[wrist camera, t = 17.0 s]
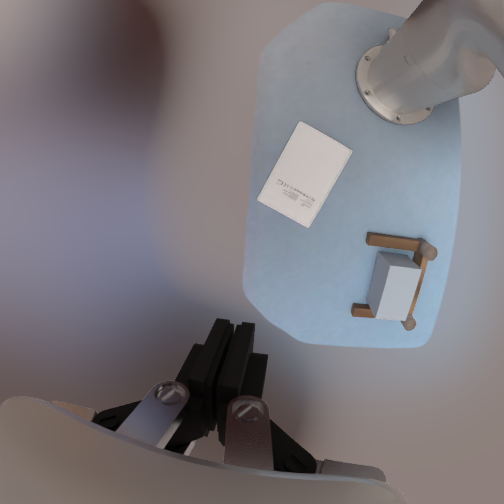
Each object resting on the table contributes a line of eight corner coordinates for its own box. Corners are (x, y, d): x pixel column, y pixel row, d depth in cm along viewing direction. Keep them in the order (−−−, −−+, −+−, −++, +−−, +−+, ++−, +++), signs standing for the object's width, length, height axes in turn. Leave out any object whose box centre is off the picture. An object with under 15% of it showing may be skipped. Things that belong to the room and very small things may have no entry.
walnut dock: (367, 230, 38) (376, 238, 34) (425, 238, 37) (438, 247, 33) (350, 312, 42) (355, 328, 38) (404, 316, 41) (413, 330, 37)
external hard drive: (350, 151, 36) (308, 226, 40) (299, 122, 35) (257, 198, 39) (353, 151, 34) (308, 229, 38) (299, 120, 34) (256, 200, 38)
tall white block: (377, 251, 39) (390, 265, 33) (406, 255, 38) (421, 269, 33) (366, 299, 41) (375, 318, 36) (393, 301, 41) (405, 320, 35)
